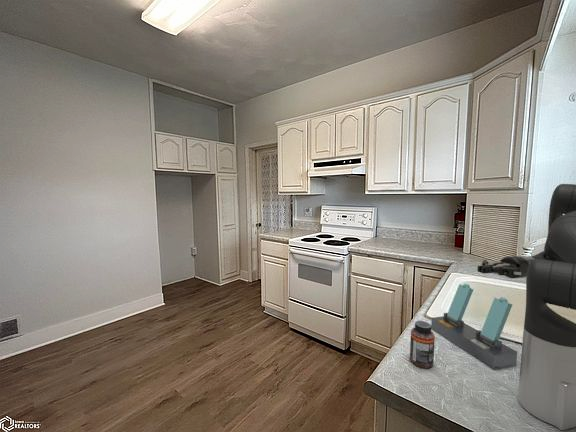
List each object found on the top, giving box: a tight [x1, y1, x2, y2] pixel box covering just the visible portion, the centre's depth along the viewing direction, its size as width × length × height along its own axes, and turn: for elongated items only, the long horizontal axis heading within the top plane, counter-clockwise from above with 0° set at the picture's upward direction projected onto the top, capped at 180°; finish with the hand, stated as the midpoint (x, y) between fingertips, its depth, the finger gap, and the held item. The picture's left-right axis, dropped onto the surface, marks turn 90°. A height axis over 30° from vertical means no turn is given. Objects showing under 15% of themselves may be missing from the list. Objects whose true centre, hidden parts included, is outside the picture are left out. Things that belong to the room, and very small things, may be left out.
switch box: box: [430, 312, 518, 370], centre depth 81 cm, size 22×8×6 cm, turn 13°
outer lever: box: [446, 283, 474, 325], centre depth 87 cm, size 4×2×14 cm, turn 13°
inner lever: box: [479, 296, 513, 346], centre depth 75 cm, size 4×2×14 cm, turn 13°
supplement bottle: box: [409, 320, 436, 369], centre depth 72 cm, size 6×6×11 cm
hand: (480, 269), depth 88 cm, fingers closed
